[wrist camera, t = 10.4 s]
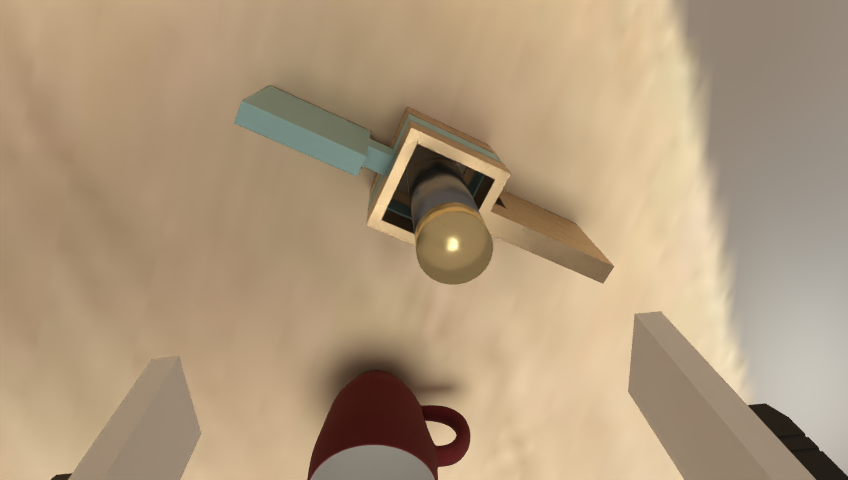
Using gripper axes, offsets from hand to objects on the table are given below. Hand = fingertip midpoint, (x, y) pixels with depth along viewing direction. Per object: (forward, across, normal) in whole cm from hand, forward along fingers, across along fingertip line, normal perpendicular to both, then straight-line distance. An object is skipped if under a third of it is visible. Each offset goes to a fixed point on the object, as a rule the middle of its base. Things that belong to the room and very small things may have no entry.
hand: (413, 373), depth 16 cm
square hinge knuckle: (+21, +6, -2) cm, 22 cm away
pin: (+22, +2, 0) cm, 22 cm away
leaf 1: (+21, -2, +2) cm, 21 cm away
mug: (+22, -2, -17) cm, 28 cm away
